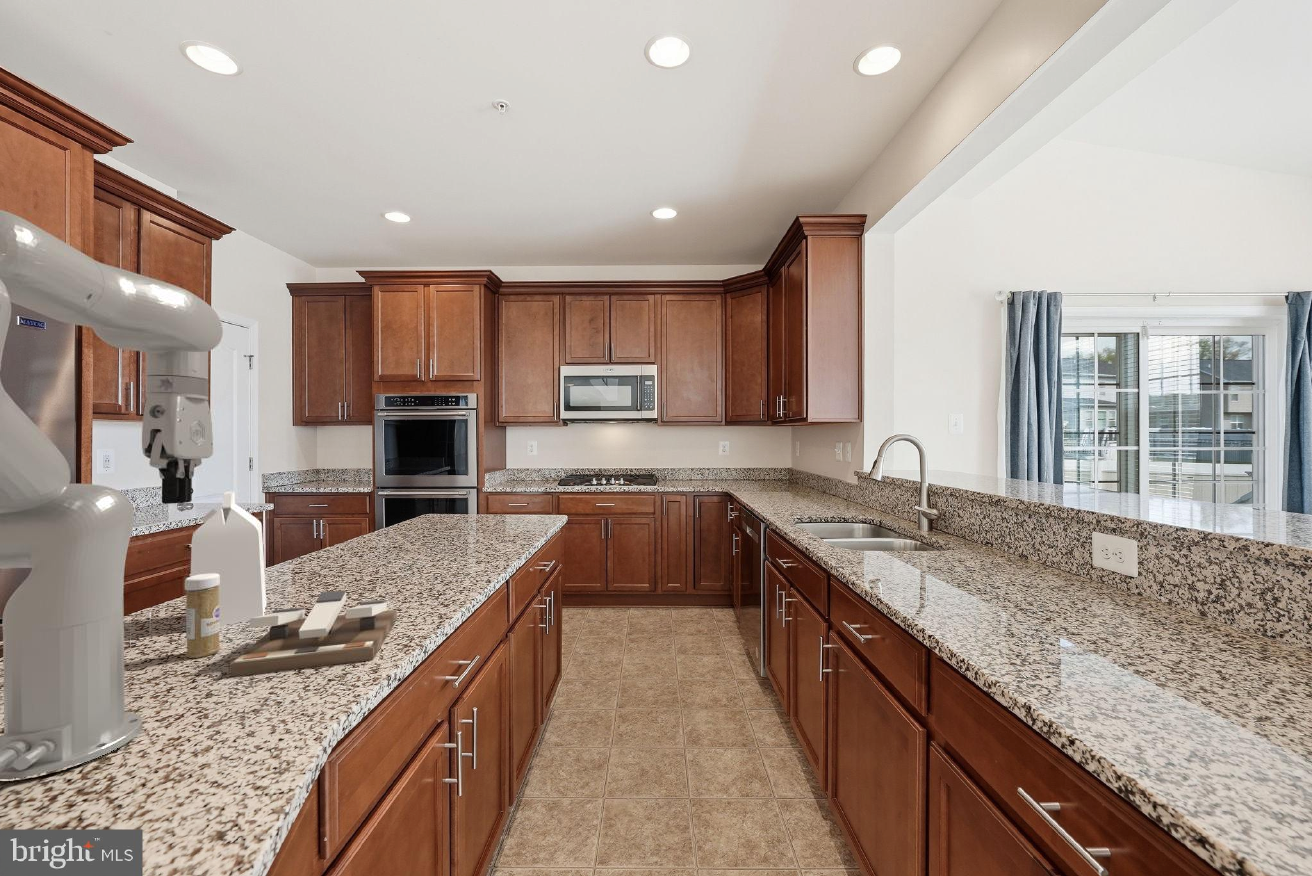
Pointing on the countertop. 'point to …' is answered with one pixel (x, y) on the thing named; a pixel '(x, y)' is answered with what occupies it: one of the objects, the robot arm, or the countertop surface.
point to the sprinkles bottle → (202, 615)
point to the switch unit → (316, 645)
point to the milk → (232, 560)
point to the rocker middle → (323, 614)
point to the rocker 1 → (277, 617)
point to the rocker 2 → (367, 609)
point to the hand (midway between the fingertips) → (176, 502)
